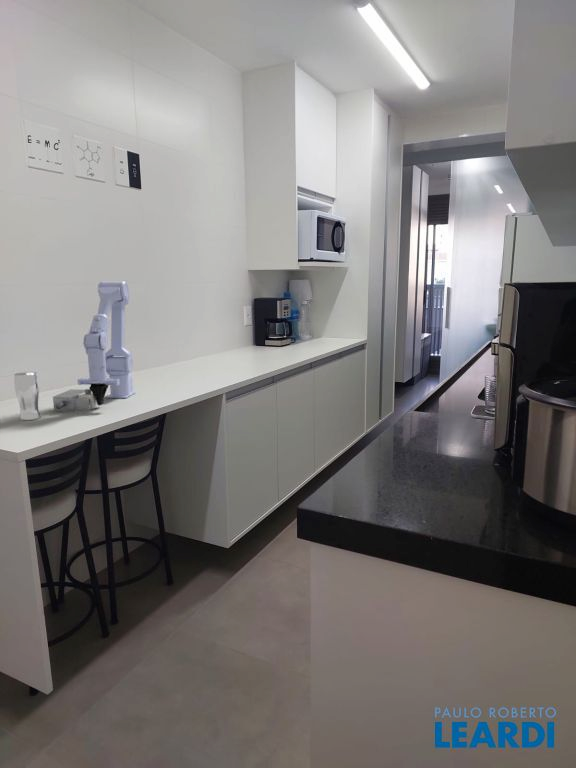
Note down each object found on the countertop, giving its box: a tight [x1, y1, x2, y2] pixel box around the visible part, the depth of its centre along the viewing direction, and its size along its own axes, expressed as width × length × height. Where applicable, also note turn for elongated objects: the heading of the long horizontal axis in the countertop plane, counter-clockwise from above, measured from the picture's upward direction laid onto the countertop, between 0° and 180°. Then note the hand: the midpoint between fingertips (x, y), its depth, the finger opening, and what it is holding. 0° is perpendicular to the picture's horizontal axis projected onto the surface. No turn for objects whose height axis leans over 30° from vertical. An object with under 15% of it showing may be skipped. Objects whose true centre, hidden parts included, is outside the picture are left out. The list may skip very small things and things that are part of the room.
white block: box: [78, 388, 100, 410], centre depth 180 cm, size 5×5×6 cm
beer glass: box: [13, 371, 41, 422], centre depth 165 cm, size 7×7×15 cm
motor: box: [52, 388, 92, 412], centre depth 179 cm, size 15×12×5 cm
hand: (100, 404), depth 180 cm, fingers closed
